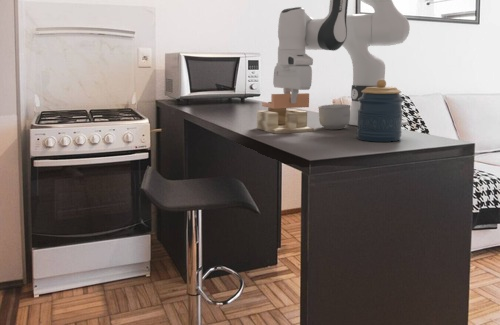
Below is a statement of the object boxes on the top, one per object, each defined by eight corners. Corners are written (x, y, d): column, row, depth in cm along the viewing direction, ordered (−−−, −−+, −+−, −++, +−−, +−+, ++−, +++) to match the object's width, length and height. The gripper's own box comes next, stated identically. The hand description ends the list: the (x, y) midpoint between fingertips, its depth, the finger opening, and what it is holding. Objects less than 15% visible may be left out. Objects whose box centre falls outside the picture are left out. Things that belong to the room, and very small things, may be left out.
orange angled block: (260, 106, 166) (260, 92, 165) (294, 105, 171) (294, 92, 170) (273, 108, 157) (273, 94, 156) (308, 107, 162) (309, 93, 161)
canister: (355, 135, 154) (357, 78, 150) (398, 136, 151) (401, 78, 148) (357, 142, 141) (360, 80, 137) (404, 143, 139) (408, 80, 135)
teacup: (349, 131, 163) (350, 107, 161) (316, 130, 165) (317, 106, 163) (349, 125, 176) (350, 103, 175) (319, 124, 178) (320, 102, 177)
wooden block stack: (257, 128, 169) (257, 102, 167) (294, 126, 175) (294, 100, 173) (274, 133, 156) (275, 105, 155) (314, 131, 162) (315, 104, 160)
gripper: (268, 59, 165) (268, 100, 168) (297, 59, 147) (296, 105, 150) (285, 59, 168) (284, 100, 171) (315, 59, 149) (314, 104, 152)
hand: (290, 102), depth 160 cm, fingers closed on orange angled block, 2 cm apart
